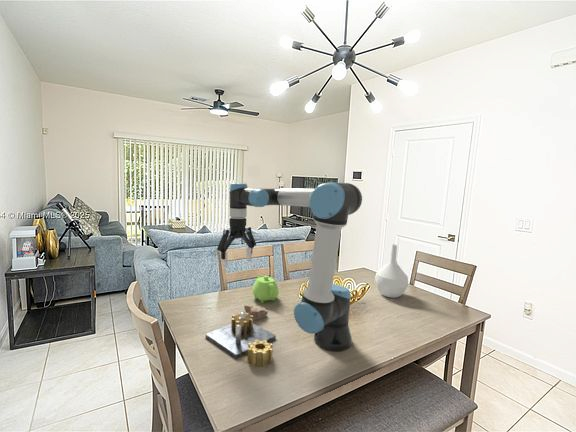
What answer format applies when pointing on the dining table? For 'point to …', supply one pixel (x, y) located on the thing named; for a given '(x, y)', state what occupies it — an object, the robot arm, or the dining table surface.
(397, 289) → the vase
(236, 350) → the plate
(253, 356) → the planet gear
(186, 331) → the dining table surface
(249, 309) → the stone
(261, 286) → the teapot
